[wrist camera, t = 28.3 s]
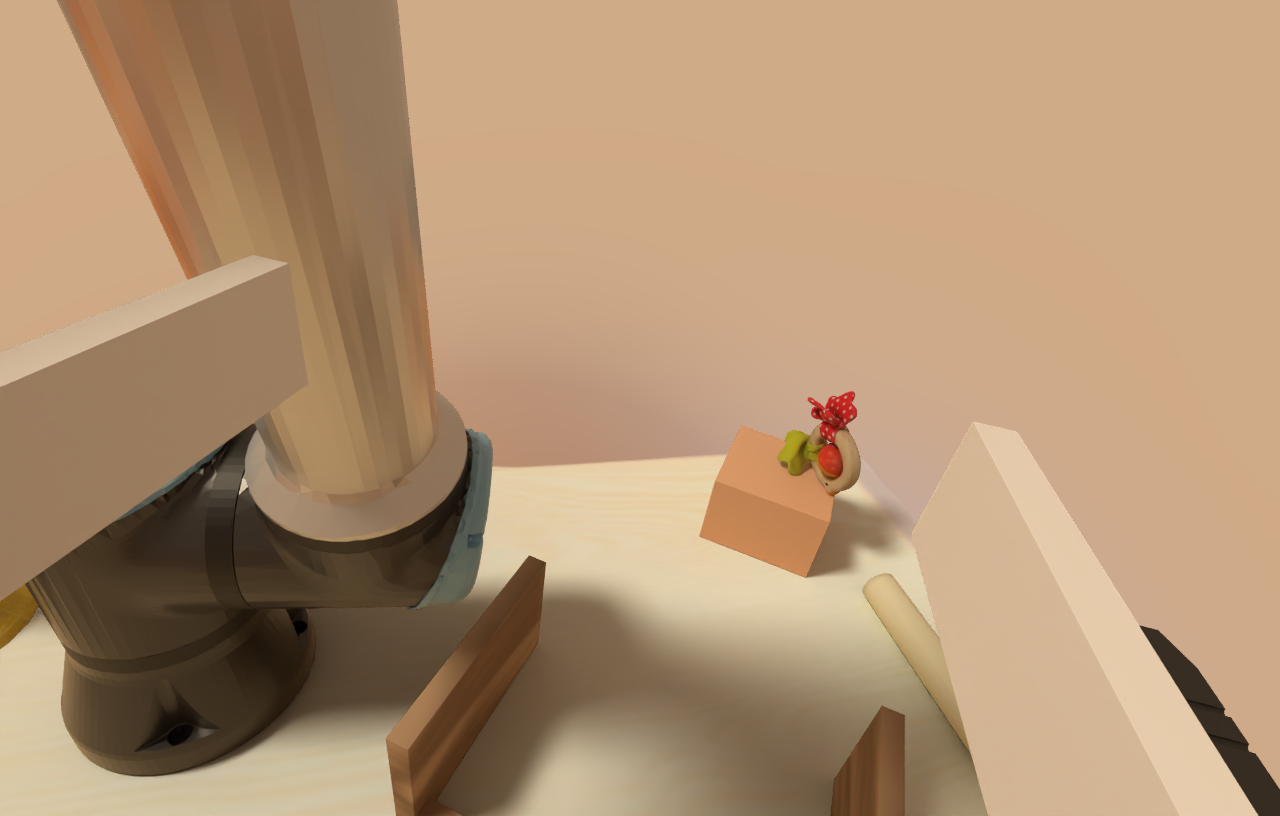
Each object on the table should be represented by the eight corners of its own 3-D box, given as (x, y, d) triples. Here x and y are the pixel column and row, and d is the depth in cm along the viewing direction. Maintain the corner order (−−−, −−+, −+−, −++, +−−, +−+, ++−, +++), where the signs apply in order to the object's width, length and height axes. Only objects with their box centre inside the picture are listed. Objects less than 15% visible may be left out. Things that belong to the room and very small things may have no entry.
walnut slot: (396, 820, 40) (385, 738, 34) (522, 635, 53) (529, 555, 47) (833, 1071, 33) (904, 1019, 27) (853, 788, 46) (904, 715, 41)
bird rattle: (845, 501, 66) (807, 432, 70) (912, 452, 57) (864, 376, 61) (802, 513, 63) (765, 440, 67) (866, 463, 55) (818, 383, 59)
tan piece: (1101, 972, 39) (1135, 952, 37) (856, 598, 63) (869, 574, 61) (1142, 957, 40) (1177, 936, 38) (886, 595, 64) (899, 571, 62)
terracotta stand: (699, 536, 66) (715, 480, 62) (725, 477, 76) (741, 425, 72) (805, 577, 64) (830, 522, 59) (818, 510, 73) (840, 459, 69)
